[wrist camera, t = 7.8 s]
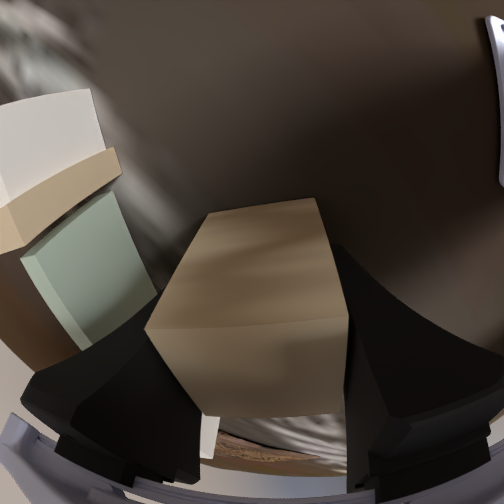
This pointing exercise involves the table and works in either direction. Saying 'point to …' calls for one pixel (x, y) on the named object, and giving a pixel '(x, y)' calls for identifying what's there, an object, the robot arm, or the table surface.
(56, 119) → the wall frame
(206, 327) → the block
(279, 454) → the wooden fragment
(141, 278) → the door
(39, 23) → the table surface
